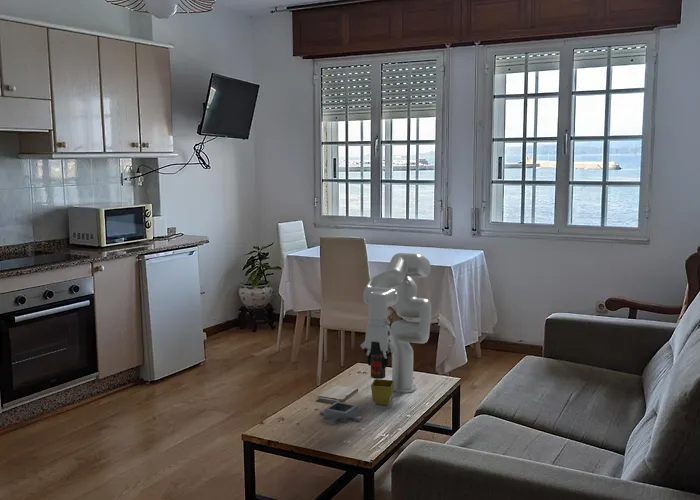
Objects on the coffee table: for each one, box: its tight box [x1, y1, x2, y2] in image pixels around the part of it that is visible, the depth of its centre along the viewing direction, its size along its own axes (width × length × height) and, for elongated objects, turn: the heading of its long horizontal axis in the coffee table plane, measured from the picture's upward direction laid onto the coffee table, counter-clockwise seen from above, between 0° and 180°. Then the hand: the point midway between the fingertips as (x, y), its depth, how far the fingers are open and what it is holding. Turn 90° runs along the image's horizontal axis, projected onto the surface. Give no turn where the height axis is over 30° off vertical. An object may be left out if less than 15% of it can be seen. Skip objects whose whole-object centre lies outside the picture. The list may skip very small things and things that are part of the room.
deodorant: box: [370, 341, 386, 380], centre depth 267 cm, size 6×6×15 cm
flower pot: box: [370, 378, 394, 406], centre depth 285 cm, size 9×9×9 cm
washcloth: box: [317, 385, 359, 404], centre depth 293 cm, size 12×18×3 cm, turn 154°
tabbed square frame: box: [320, 401, 363, 426], centre depth 270 cm, size 18×18×4 cm
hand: (378, 365), depth 268 cm, fingers closed on deodorant, 5 cm apart
